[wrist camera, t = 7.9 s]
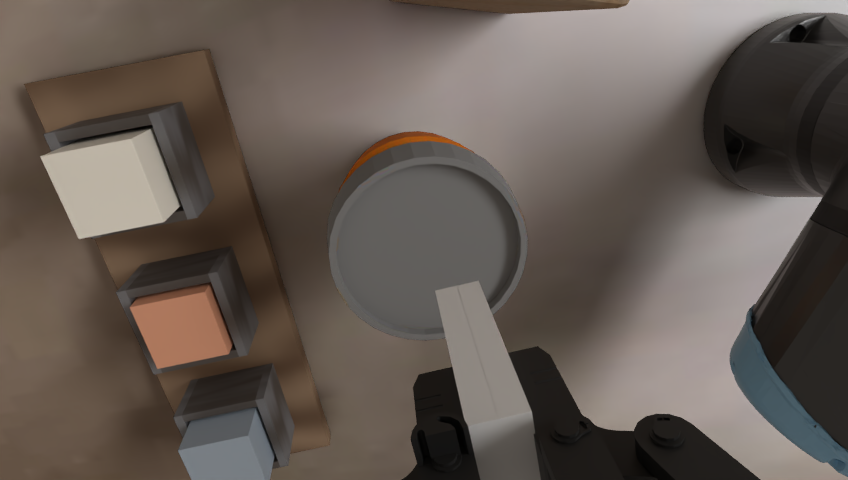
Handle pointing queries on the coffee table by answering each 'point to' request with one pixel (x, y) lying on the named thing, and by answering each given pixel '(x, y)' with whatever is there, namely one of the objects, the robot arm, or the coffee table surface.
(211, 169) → the console
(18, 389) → the coffee table surface
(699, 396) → the coffee table surface
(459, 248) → the reusable coffee cup
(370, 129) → the coffee table surface
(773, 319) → the robot arm
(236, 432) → the slate button
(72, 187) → the cream button
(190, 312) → the terracotta button
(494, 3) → the wooden block
